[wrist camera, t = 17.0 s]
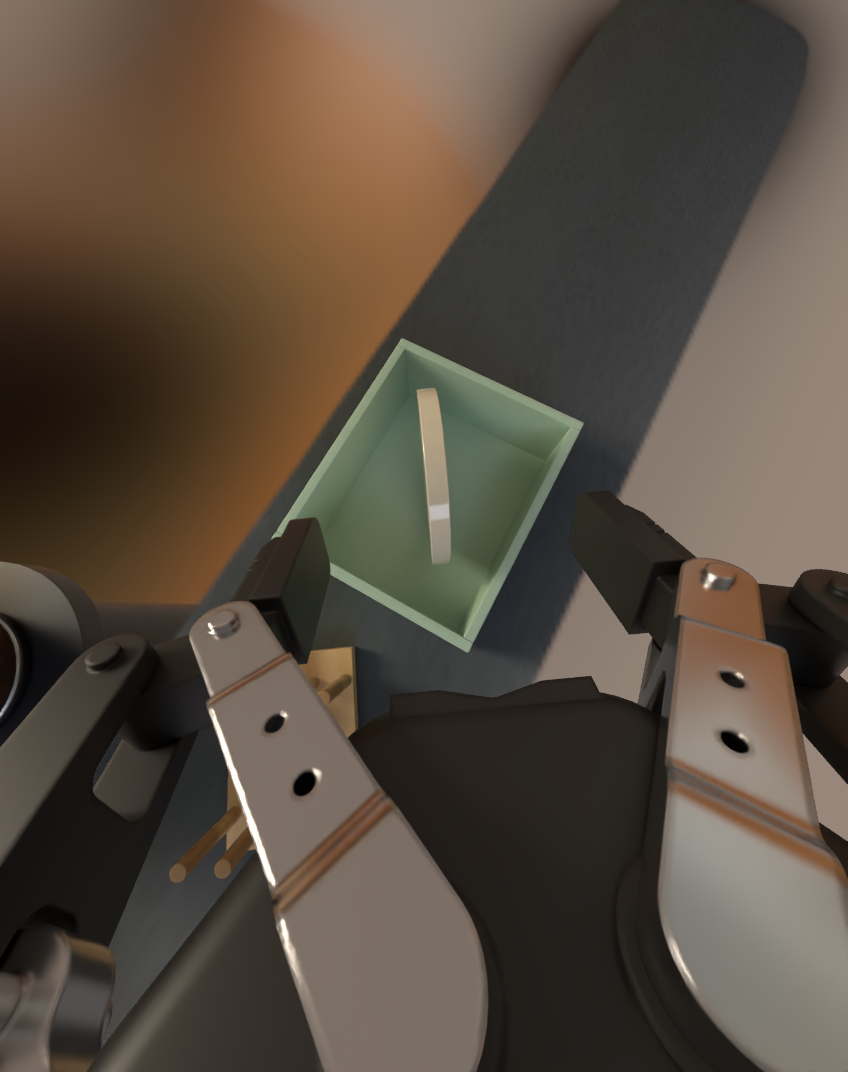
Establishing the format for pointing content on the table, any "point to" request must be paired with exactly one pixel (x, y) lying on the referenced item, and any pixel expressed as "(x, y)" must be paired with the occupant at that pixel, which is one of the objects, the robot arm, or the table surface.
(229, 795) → the dish rack
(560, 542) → the table surface
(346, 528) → the light green open box
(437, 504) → the plate
